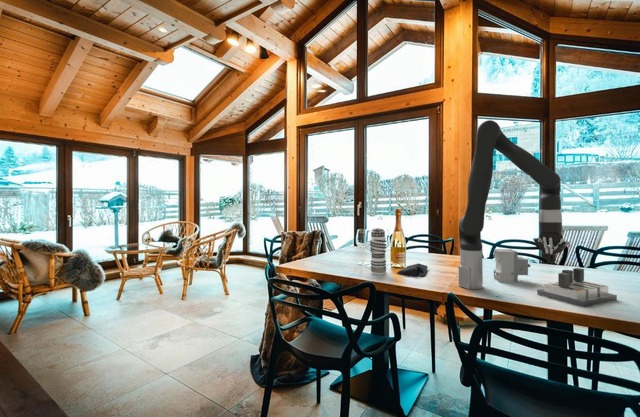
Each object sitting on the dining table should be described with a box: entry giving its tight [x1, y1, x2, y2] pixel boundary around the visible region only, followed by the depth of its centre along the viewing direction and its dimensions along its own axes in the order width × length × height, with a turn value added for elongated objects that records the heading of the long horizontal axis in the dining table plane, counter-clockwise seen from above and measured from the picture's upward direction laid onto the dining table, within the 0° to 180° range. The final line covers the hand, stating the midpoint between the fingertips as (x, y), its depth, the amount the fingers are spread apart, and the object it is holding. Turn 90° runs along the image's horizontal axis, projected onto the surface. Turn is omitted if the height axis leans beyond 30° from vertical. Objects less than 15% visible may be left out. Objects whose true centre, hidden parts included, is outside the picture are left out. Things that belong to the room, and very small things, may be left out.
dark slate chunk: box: [396, 263, 428, 278], centre depth 176 cm, size 15×22×5 cm
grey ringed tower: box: [369, 227, 387, 276], centre depth 175 cm, size 9×9×25 cm
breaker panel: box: [536, 267, 618, 308], centre depth 126 cm, size 20×17×10 cm
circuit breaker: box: [493, 248, 531, 284], centre depth 153 cm, size 8×14×15 cm, turn 78°
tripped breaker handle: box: [557, 272, 570, 287], centre depth 123 cm, size 3×2×5 cm
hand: (551, 262), depth 128 cm, fingers closed
